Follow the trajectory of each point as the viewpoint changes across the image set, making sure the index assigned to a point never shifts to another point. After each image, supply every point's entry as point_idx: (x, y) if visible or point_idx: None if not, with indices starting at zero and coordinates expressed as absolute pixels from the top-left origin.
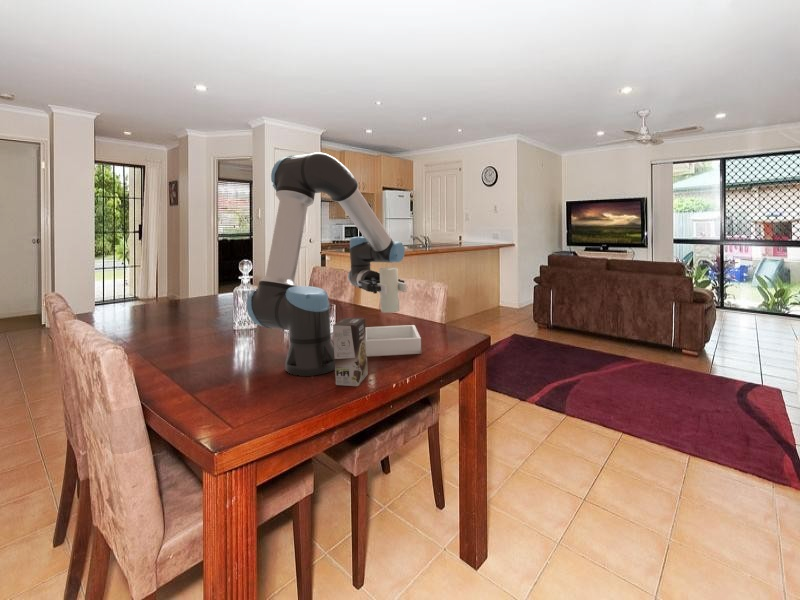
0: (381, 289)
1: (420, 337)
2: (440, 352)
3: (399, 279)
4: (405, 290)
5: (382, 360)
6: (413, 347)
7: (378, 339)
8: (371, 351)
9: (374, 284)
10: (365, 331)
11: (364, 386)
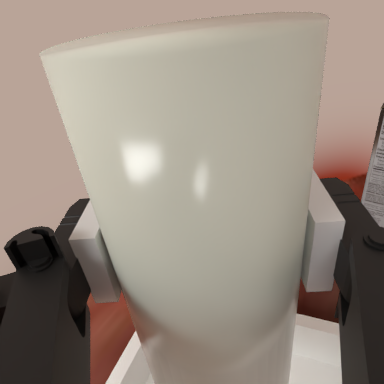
0: None
1: None
2: (119, 302)
3: (37, 227)
4: None
5: (306, 306)
6: None
7: (317, 330)
8: None
9: (381, 232)
10: (374, 141)
11: (358, 197)
